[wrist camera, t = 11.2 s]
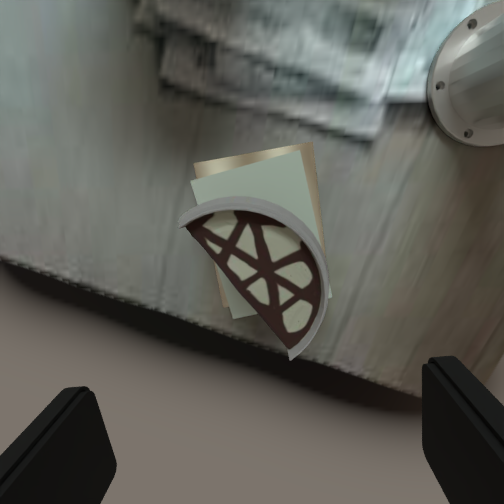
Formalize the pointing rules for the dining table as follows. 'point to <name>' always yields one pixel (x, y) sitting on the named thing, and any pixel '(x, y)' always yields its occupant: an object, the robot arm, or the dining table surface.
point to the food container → (266, 262)
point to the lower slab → (245, 159)
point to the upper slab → (263, 187)
